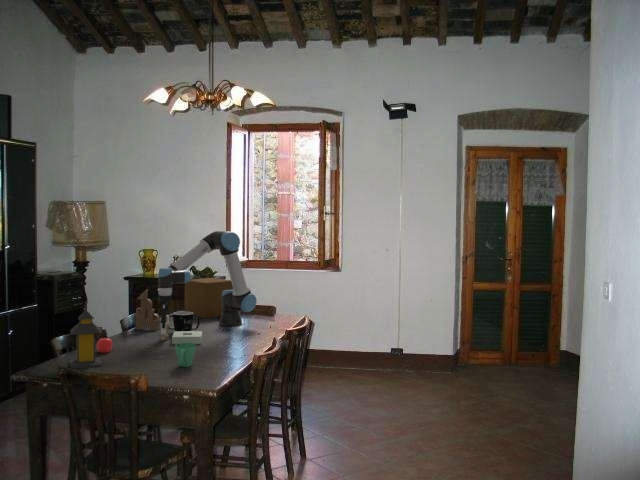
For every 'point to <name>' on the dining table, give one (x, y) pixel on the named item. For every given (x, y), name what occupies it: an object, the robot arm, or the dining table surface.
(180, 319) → the mug
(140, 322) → the wooden toy
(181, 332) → the board
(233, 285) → the robot arm
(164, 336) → the leg
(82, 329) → the lantern
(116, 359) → the dining table surface
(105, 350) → the red rounded cube
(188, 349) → the mug
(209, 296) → the wood block
